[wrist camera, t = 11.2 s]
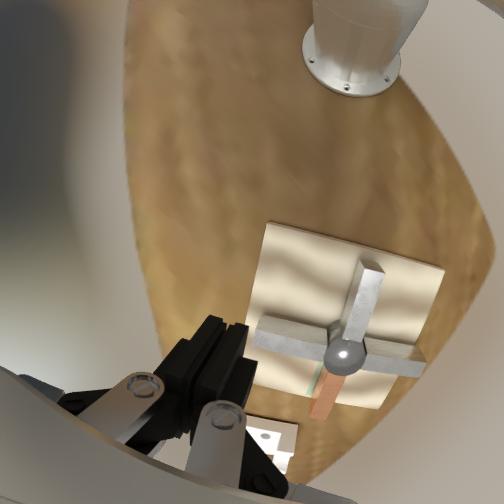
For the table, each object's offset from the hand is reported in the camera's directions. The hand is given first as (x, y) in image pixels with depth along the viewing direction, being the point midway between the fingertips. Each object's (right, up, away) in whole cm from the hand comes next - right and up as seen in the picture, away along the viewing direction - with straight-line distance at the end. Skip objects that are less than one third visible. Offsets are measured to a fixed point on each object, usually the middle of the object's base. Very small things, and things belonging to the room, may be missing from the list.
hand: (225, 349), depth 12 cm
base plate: (+12, -6, +26) cm, 30 cm away
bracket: (+2, -27, +35) cm, 44 cm away
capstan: (+13, -7, +25) cm, 29 cm away
